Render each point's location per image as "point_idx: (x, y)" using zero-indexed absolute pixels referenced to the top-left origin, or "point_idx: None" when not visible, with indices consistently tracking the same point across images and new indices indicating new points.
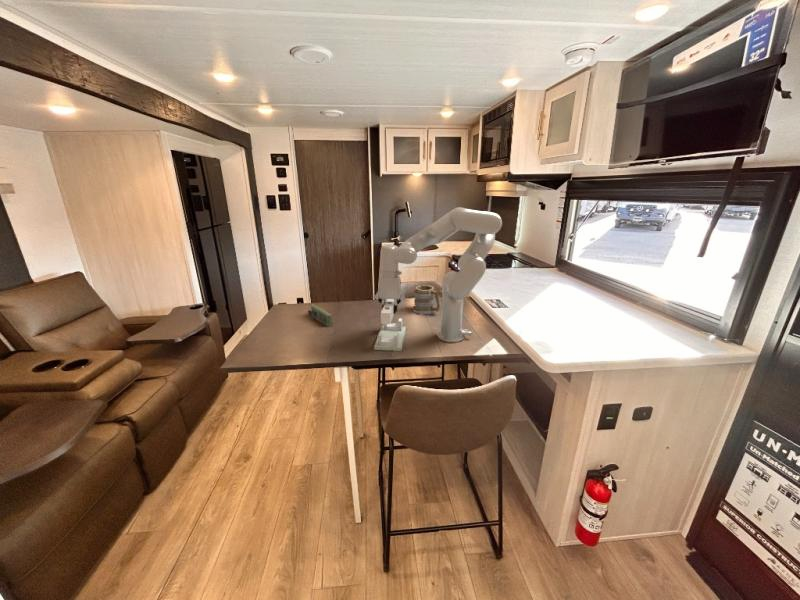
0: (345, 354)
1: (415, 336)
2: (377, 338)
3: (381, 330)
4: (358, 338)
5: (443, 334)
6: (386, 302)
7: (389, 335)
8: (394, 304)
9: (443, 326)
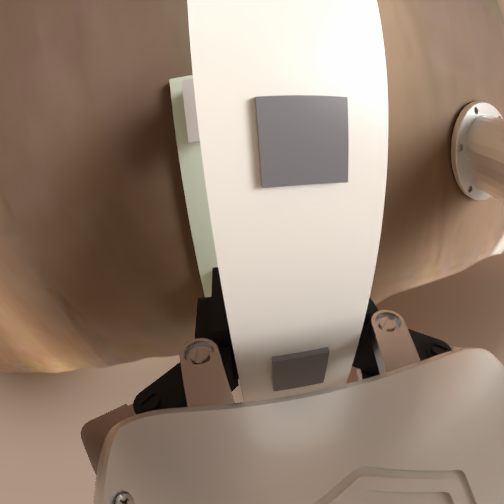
0: (129, 337)
1: None
2: (194, 241)
3: (184, 144)
4: (101, 226)
5: (476, 179)
6: (252, 368)
7: None
8: (355, 362)
9: (499, 189)
